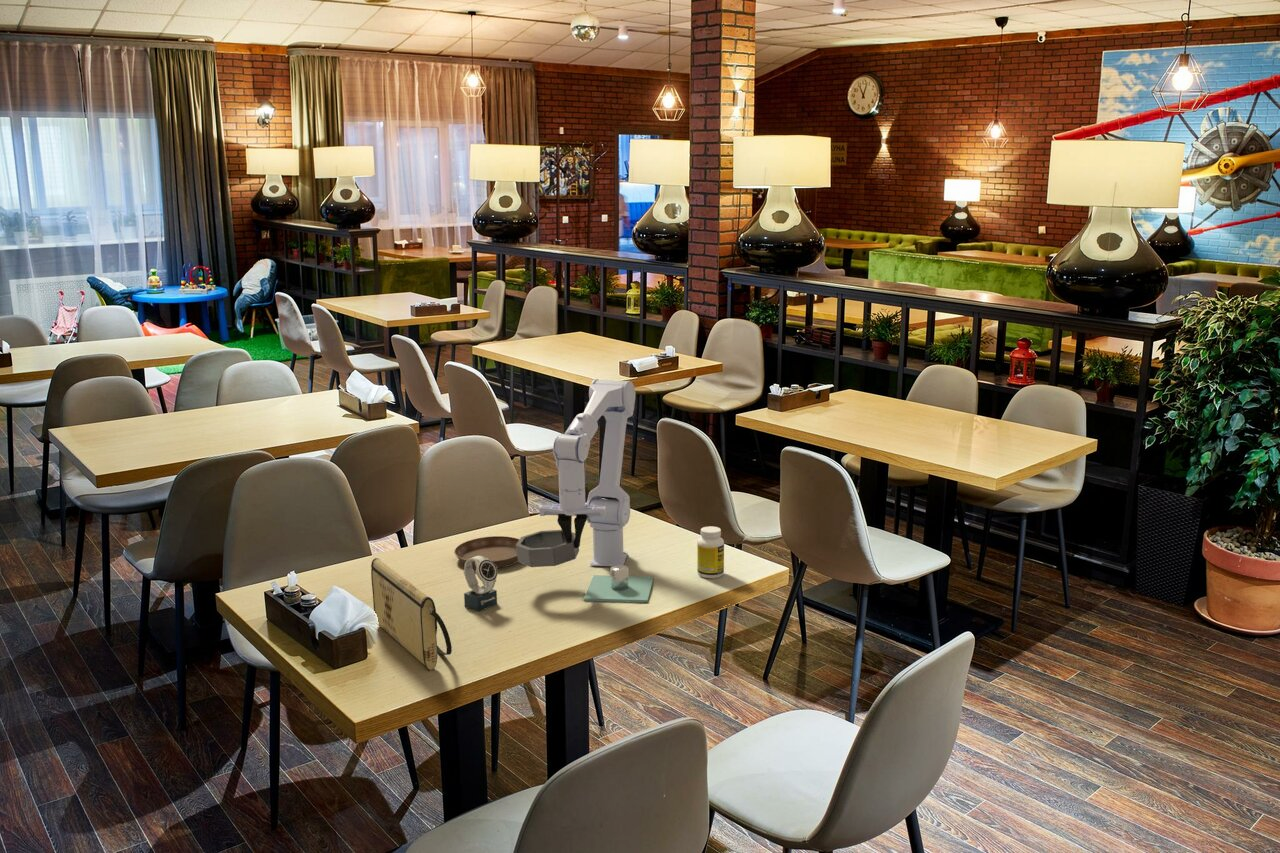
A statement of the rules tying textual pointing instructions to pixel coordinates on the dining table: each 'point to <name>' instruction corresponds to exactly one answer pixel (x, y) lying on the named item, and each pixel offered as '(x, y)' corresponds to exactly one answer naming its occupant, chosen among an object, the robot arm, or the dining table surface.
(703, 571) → the pill bottle
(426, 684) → the dining table surface
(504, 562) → the plant saucer
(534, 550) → the gunmetal ring
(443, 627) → the clutch purse
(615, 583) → the post
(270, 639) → the dining table surface
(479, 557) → the watch
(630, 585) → the teal board
